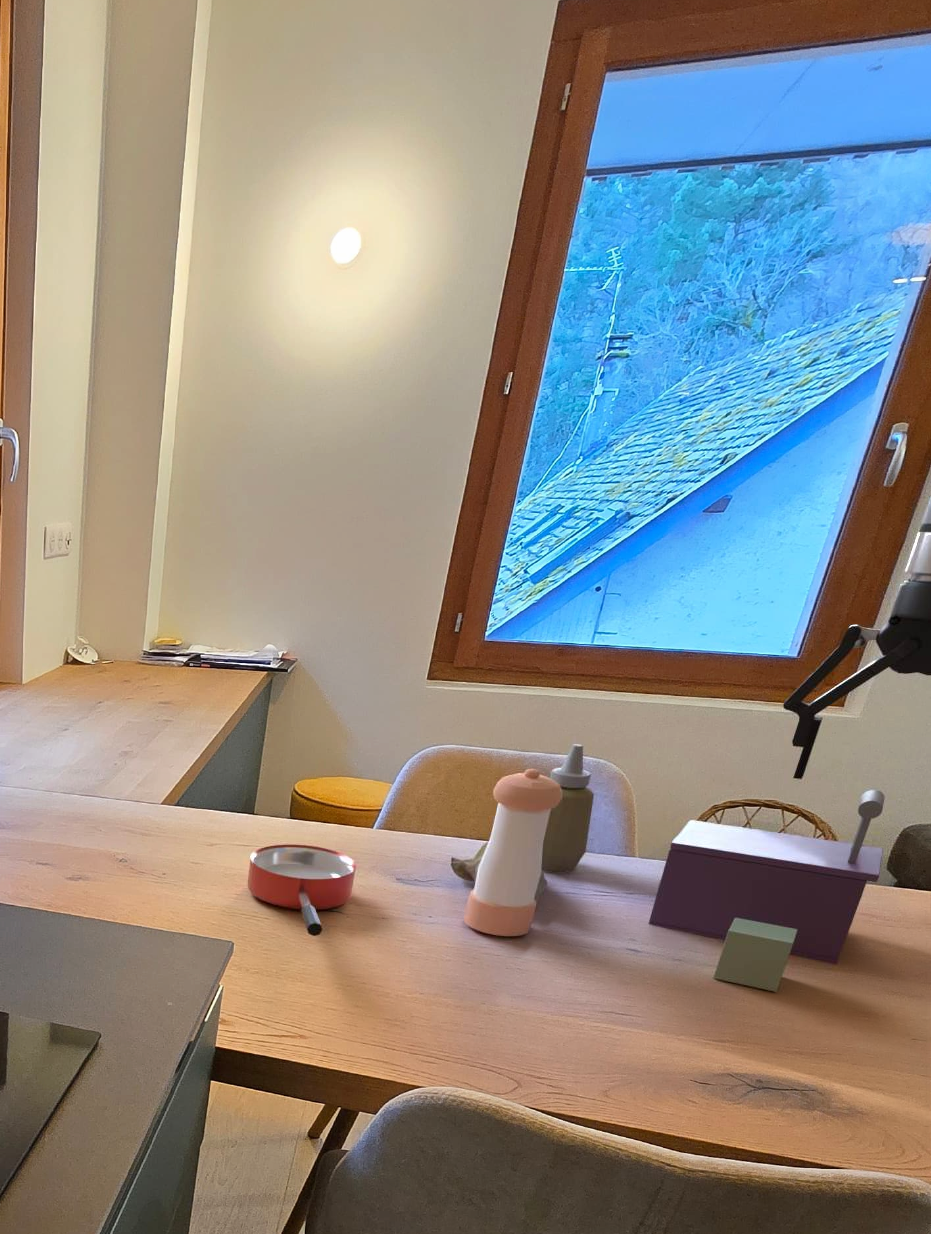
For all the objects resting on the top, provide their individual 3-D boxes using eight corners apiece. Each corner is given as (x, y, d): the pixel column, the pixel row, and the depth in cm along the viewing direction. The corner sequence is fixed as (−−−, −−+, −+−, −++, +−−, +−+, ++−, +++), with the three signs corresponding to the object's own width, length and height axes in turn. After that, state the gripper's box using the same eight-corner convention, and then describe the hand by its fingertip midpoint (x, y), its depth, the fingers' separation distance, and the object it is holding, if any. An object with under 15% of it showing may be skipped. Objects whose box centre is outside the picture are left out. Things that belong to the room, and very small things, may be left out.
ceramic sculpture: (483, 846, 128) (454, 816, 142) (468, 912, 131) (442, 878, 145) (578, 852, 126) (539, 821, 139) (561, 919, 129) (525, 883, 143)
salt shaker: (505, 941, 123) (543, 781, 114) (450, 920, 128) (483, 767, 120) (543, 928, 126) (583, 772, 117) (488, 908, 131) (522, 758, 123)
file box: (842, 934, 125) (872, 853, 121) (835, 967, 115) (866, 881, 112) (666, 901, 136) (688, 826, 132) (646, 929, 126) (669, 849, 122)
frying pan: (393, 981, 114) (404, 927, 111) (270, 974, 116) (277, 921, 113) (340, 876, 142) (348, 832, 139) (242, 872, 144) (247, 828, 141)
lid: (881, 854, 121) (905, 787, 118) (876, 882, 111) (903, 810, 108) (688, 826, 132) (706, 764, 129) (669, 849, 122) (688, 783, 119)
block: (781, 976, 113) (797, 929, 111) (776, 992, 109) (793, 943, 107) (720, 963, 116) (735, 917, 114) (713, 978, 112) (728, 930, 110)
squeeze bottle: (581, 868, 148) (614, 742, 140) (576, 886, 142) (611, 755, 134) (517, 858, 152) (547, 735, 144) (510, 875, 146) (540, 747, 138)
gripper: (794, 575, 111) (733, 774, 119) (1132, 585, 96) (1036, 812, 104) (800, 573, 116) (741, 764, 124) (1122, 583, 101) (1030, 799, 109)
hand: (875, 786), depth 114 cm, fingers open, 13 cm apart
